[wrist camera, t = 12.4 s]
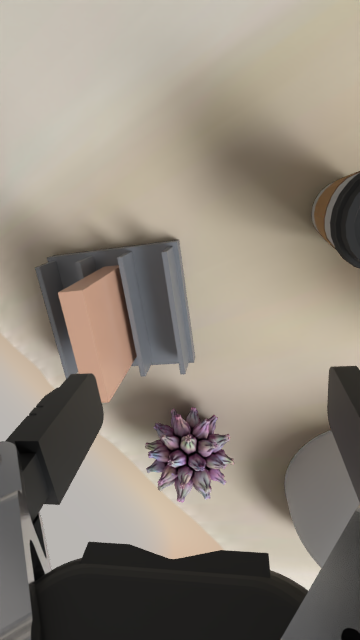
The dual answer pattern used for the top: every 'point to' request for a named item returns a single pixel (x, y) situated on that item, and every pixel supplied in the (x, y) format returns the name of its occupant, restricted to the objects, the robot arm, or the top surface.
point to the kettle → (319, 495)
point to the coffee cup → (340, 216)
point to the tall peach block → (100, 328)
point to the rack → (129, 300)
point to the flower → (188, 454)
